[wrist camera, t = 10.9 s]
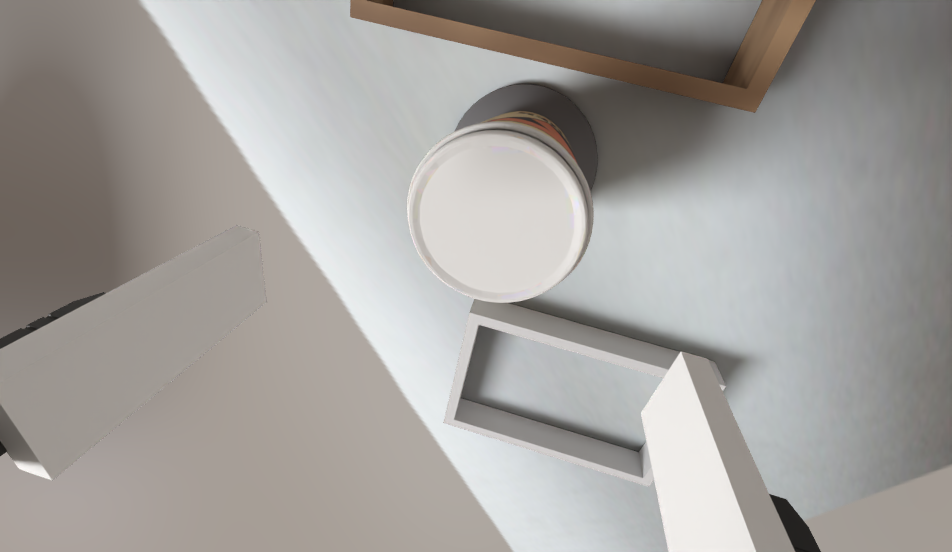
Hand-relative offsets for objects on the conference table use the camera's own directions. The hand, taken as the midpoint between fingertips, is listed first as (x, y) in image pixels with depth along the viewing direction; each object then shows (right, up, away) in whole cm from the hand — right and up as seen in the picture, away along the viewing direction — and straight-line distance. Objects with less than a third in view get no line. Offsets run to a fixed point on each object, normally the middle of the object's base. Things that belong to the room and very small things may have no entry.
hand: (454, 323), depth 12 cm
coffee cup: (+4, +10, +17) cm, 20 cm away
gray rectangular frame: (+10, -9, +27) cm, 30 cm away
